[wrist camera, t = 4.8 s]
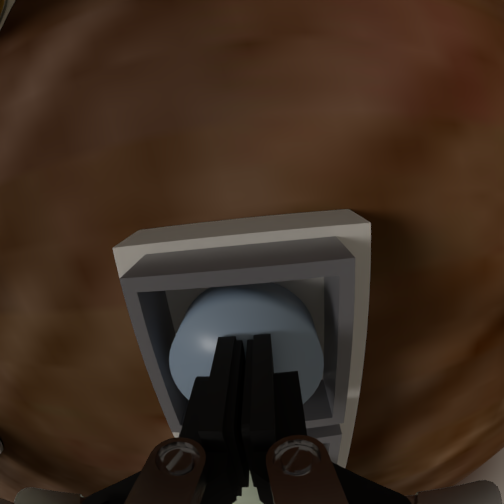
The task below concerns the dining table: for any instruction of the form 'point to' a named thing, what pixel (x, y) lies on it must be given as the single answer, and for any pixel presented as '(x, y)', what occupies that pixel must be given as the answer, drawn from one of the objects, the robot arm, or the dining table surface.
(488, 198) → the dining table surface
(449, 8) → the dining table surface
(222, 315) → the blue button
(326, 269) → the button housing
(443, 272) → the dining table surface
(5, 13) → the condiment
